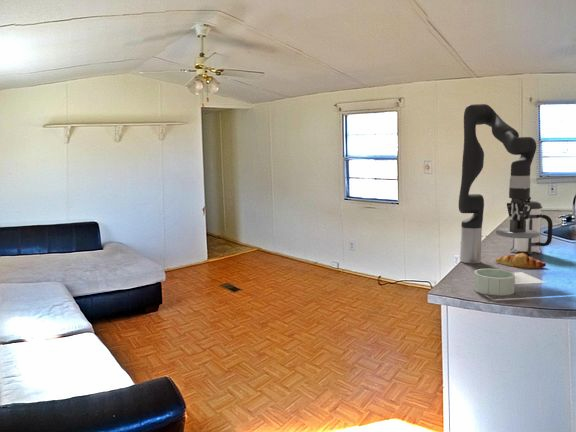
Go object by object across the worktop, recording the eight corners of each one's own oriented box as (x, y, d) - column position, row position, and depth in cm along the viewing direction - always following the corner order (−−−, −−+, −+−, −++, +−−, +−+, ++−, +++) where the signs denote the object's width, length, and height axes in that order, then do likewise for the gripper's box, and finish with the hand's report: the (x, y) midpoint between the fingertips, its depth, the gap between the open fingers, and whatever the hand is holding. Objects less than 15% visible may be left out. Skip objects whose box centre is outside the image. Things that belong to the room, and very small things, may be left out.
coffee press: (512, 255, 223) (515, 197, 218) (508, 249, 238) (510, 194, 233) (551, 257, 217) (554, 197, 213) (543, 250, 232) (546, 194, 228)
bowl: (467, 286, 173) (467, 269, 172) (500, 284, 174) (501, 267, 173) (485, 297, 160) (486, 279, 159) (522, 295, 161) (522, 277, 160)
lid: (488, 232, 186) (488, 217, 185) (523, 230, 187) (524, 216, 186) (510, 239, 170) (510, 223, 169) (548, 237, 171) (549, 222, 170)
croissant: (493, 271, 206) (491, 259, 203) (498, 258, 213) (496, 245, 209) (544, 277, 193) (543, 264, 190) (547, 263, 200) (547, 249, 196)
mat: (486, 275, 188) (486, 273, 188) (521, 273, 190) (521, 272, 190) (508, 285, 173) (508, 284, 172) (546, 283, 174) (546, 282, 174)
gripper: (501, 185, 182) (499, 226, 185) (521, 188, 169) (519, 231, 171) (518, 185, 183) (516, 225, 185) (539, 187, 169) (537, 231, 172)
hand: (517, 228), depth 178 cm, fingers closed on lid, 3 cm apart
